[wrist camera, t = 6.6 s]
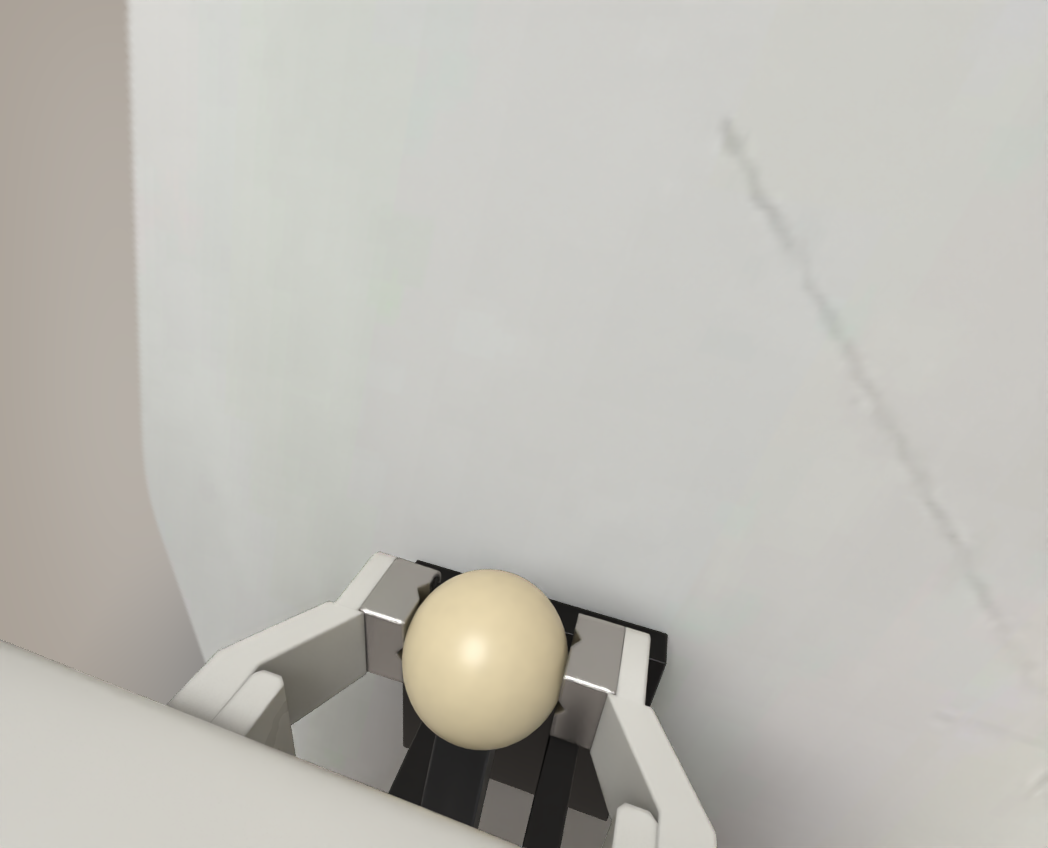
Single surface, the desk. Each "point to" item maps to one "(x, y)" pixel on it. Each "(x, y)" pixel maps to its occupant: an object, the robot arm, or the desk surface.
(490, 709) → the switch lever
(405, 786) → the switch bracket
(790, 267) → the desk surface
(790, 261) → the desk surface
